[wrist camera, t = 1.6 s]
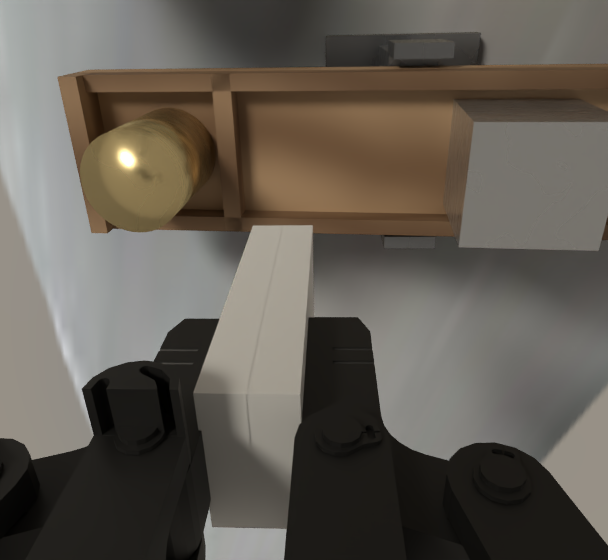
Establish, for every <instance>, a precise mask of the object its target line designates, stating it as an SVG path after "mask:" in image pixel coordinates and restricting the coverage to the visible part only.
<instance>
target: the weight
mask: <svg viewBox="0 0 608 560" xmlns="http://www.w3.org/2000/svg"><path fill="white" fill-rule="evenodd" d="M215 161H216V151H215V146H214V142H213V140H212V137H211V135H210V133H209V132H208V130H207V129H206V127H205V126H204V125H203V124H202V122H201V121H200V120H198V119H197V118H196V117H195V116H193V115H192V114H190V113H188V112H186V111H184V110H181V109H177V108H169V107H167V108H159V109H156V110H153V111H151V112H149V113H147V114H145V115H142V116H140V117H138V118H136V119H134V120H132V121H130V122H128V123H126V124H124V125H121V126H119V127H117V128H115V129H113V130H111V131H109V132H107V133H105V134H103V135H101V136H99V137H97V138H96V139H95V140H94V141H92V142H91V143H90V145H89V146H88V147H87V149H86V150H85V152H84V154H83V157H82V160H81V165H80V179H81V184H82V188H83V191H84V193H85V195H86V197H87V199H88V201H89V203H90V204H91V206H92V207H93V208H94V209H95V211H96V212H97V213H98V214H99V215H100V216H101V217H102V218H104V219H105V220H106V221H108V222H109V223H111V224H112V225H114V226H116V227H118V228H121V229H124V230H127V231H132V232H149V231H153V230H156V229H158V228H160V227H162V226H164V225H165V224H167V223H168V222H169V221H170V220H171V219H172V218H173V217H174V216H175V215H176V214H177V213H178V212H179V211H180V210H181V208H182V207H183V206H184V205H185V204H186V203H187V202H188V201H189V200H190V199H191V198H192V197H193V196H194V195H195V194H196V193H197V191H198V190H199V189H200V188H201V187H202V186H203V185H204V184H205V183H206V182H207V181H208V179H209V178H210V176H211V175H212V173H213V170H214V167H215Z"/></svg>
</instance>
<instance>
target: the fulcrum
mask: <svg viewBox="0 0 608 560" xmlns="http://www.w3.org/2000/svg"><path fill="white" fill-rule="evenodd" d="M480 35H481V33H478V32H465V33H419V34H373V35H326V67H376V66H463V65H477V60H478V52H479V43H480ZM381 238H382V242H383V246H384V249H393V248H435V239H436V236H413V235H381Z"/></svg>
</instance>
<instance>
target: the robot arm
mask: <svg viewBox="0 0 608 560" xmlns="http://www.w3.org/2000/svg"><path fill="white" fill-rule="evenodd" d="M82 391H83V395H84V399H85V403H86V407H87V411H88V414H89V418H90V422H91V426H92V430H93V434H94V436H93V438H92V440H91V442H90V444H89V445H88V446H87V447H84V448H81V449H77V450H74V451H71V452H66V453H62V454H58V455H53V456H48V457H44V458H40V459H35V460H31V456H30V454H29V452H28V450H27V448H26V447H25V445H24V444H22V443H20V442H18V441H16V440H14V439H4V438H0V560H205V539H204V533H203V531H204V527H205V522H206V518H207V514H208V510H209V507H210V514H211V521H212V527H234V528H280V529H287V533H286V544H285V556H284V560H608V545H607V544H606V543H605V542H604V540H603V539H602V538H601V537H600V535H599V534H598V533H597V532H596V530H595V529H594V528H593V527H592V525H591V524H590V523H589V522H588V520H587V519H586V518H585V516H584V515H583V514H582V513H581V511H580V510H579V509H578V508H577V507H576V505H575V504H574V503H573V501H572V500H571V499H570V498H569V496H568V495H567V494H566V493H565V491H564V490H563V489H562V488H561V486H560V485H559V484H558V483H557V481H556V480H555V479H554V478H553V476H552V475H551V474H550V472H549V471H548V470H547V469H545V468H544V467H543V466H542V465H541V464H540V463H539V462H538V461H537V460H536V459H535V458H533V457H532V456H530V455H528V454H526V453H524V452H522V451H520V450H518V449H516V448H514V447H510V446H506V445H502V444H498V443H474V444H471V445H469V446H466V447H463V448H460V449H459V450H458V451H457V452H456V453H455V454H454V455H453V456H452V457H451V458H450V460H449V461H448V460H444V459H440V458H436V457H433V456H429V455H425V454H423V453H420V452H417V451H414V450H412V449H410V448H408V447H406V446H405V445H403V444H401V443H399V442H398V441H397V440H396V439H395V438H394V437H393V436H392V435H390V433H389V432H388V430H387V429H386V427H385V426H384V424H383V421H382V417H381V412H380V404H379V396H378V389H377V381H376V373H375V366H374V358H373V351H372V343H371V335H370V331H369V330H368V328H367V327H366V326H365V325H364V324H363V323H362V322H361V320H360V319H359V318H358V317H314V277H313V225H273V226H253V227H252V230H251V232H250V235H249V238H248V241H247V244H246V246H245V249H244V252H243V255H242V258H241V260H240V263H239V266H238V269H237V272H236V274H235V277H234V280H233V283H232V286H231V289H230V291H229V294H228V297H227V300H226V303H225V305H224V308H223V311H222V314H221V317H220V319H184V320H183V321H182V322H180V323H179V324H178V325H177V326H175V327H174V328H173V329H172V330H170V331H169V332H168V334H167V336H166V338H165V340H164V342H163V344H162V346H161V348H160V351H159V352H158V354H157V356H156V358H155V360H154V362H152V361H137V362H127V363H124V364H121V365H118V366H114V367H111V368H108V369H107V370H105V371H103V372H101V373H100V374H98V375H96V376H95V377H93V378H92V379H91V380H90V381H89V382H88V383H87V384H86V385H85V386H84V387H83V388H82Z"/></svg>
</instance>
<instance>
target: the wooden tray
mask: <svg viewBox="0 0 608 560" xmlns="http://www.w3.org/2000/svg"><path fill="white" fill-rule="evenodd" d="M58 82H59V86H60V91H61V95H62V100H63V105H64V109H65V114H66V118H67V123H68V127H69V132H70V136H71V141H72V146H73V150H74V155H75V159H76V164H77V168H78V173H79V177H80V165H81V160H82V157H83V154H84V152H85V150H86V149H87V147H88V146H89V145H90V143H91V142H92V141H94V140H95V139H96V138H97V137H99V136H101V135H103V134H105V133H107V132H109V131H111V130H113V129H115V128H117V127H119V126H121V125H124V124H126V123H128V122H130V121H132V120H134V119H136V118H138V117H140V116H142V115H145V114H147V113H149V112H151V111H153V110H156V109H159V108H167V107H169V108H177V109H181V110H184V111H186V112H188V113H190V114H192V115H193V116H195V117H196V118H197V119H198V120H200V121H201V122H202V124H203V125H204V126H205V127H206V129H207V130H208V132H209V133H210V135H211V137H212V140H213V142H214V146H215V151H216V161H215V167H214V170H213V173H212V175H211V176H210V178H209V179H208V181H207V182H206V183H205V184H204V185H203V186H202V187H201V188H200V189H199V190H198V191H197V193H196V194H195V195H194V196H193V197H192V198H191V199H190V200H189V201H188V202H187V203H186V204H185V205H184V206H183V207H182V208H181V210H180V211H179V212H178V213H177V214H176V215H175V216H174V217H173V218H172V219H171V220H170V221H169V222H168V223H167V224H165V225H164V226H162V227H160V228H158V229H156V230H198V231H241V232H251V230H252V227H253V226H273V225H313V233H327V234H370V235H413V236H454V233H453V230H452V227H451V225H450V222H449V219H448V216H447V214H446V211H445V208H444V205H443V198H444V188H445V179H446V169H447V159H448V150H449V140H450V130H451V121H452V111H453V101H454V99H581V100H583V101H585V102H588V103H590V104H592V105H594V106H597V107H599V108H601V109H603V110H606V111H608V64H550V65H463V66H376V67H289V68H202V69H115V70H86V71H81V72H77V73H73V74H68V75H64V76H59V77H58ZM80 182H81V179H80ZM81 187H82V184H81ZM82 191H83V188H82ZM83 196H84V200H85V205H86V209H87V214H88V218H89V223H90V227H91V232H92V233H108V232H110V231H111V230H112V229H121V228H118V227H116V226H114V225H112V224H111V223H109V222H108V221H106V220H105V219H104V218H102V217H101V216H100V215H99V214H98V213H97V212H96V211H95V209H94V208H93V207H92V206H91V204H90V203H89V201H88V199H87V197H86V195H85V193H84V191H83ZM602 240H608V216H607V220H606V224H605V228H604V232H603V236H602Z"/></svg>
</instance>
